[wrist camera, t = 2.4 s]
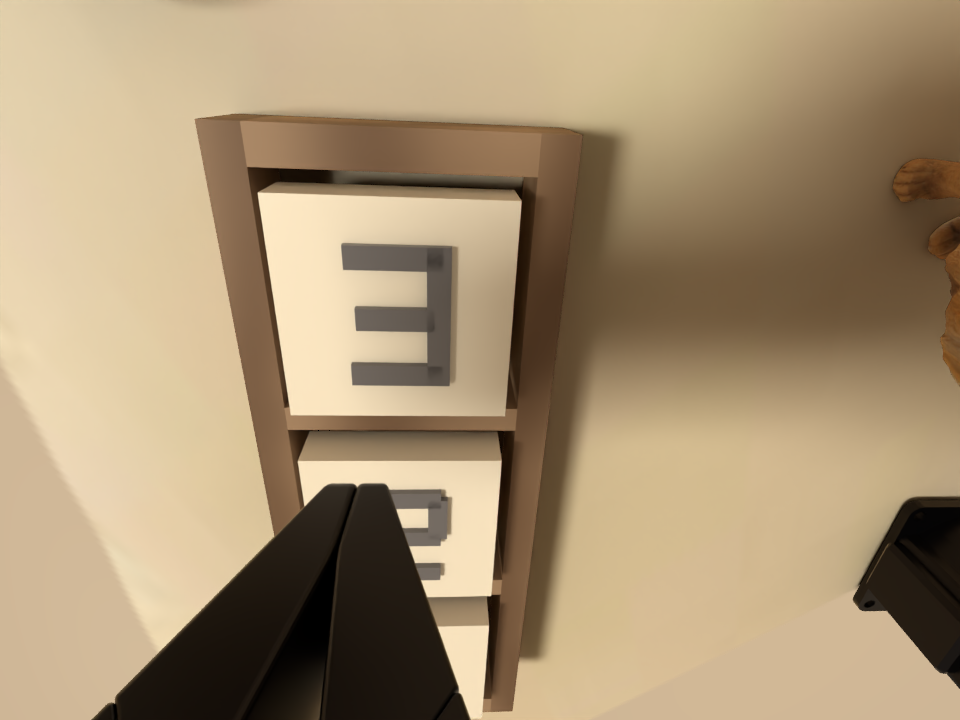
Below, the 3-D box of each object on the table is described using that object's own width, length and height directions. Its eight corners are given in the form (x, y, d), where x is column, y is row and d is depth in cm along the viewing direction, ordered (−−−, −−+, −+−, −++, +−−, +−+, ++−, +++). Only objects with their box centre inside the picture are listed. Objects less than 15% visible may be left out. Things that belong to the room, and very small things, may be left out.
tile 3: (514, 189, 13) (522, 202, 12) (500, 389, 16) (505, 420, 15) (276, 181, 13) (254, 193, 12) (304, 387, 16) (288, 419, 14)
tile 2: (497, 431, 17) (502, 465, 16) (488, 561, 20) (491, 601, 18) (309, 431, 17) (295, 465, 15) (327, 563, 19) (317, 604, 18)
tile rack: (562, 127, 15) (582, 134, 13) (506, 657, 26) (512, 711, 24) (234, 113, 14) (195, 118, 12) (321, 662, 25) (309, 717, 23)
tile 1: (486, 590, 21) (489, 630, 19) (480, 682, 23) (482, 723, 22) (331, 593, 20) (321, 634, 19) (343, 686, 23) (335, 728, 21)
